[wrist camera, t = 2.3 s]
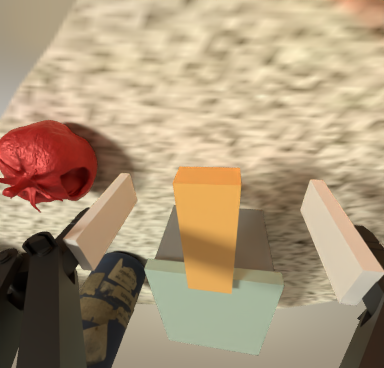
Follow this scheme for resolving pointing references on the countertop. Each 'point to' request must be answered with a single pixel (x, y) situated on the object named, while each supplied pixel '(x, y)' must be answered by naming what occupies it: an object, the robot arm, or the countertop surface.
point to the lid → (212, 269)
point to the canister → (109, 306)
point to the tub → (245, 242)
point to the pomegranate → (46, 163)
